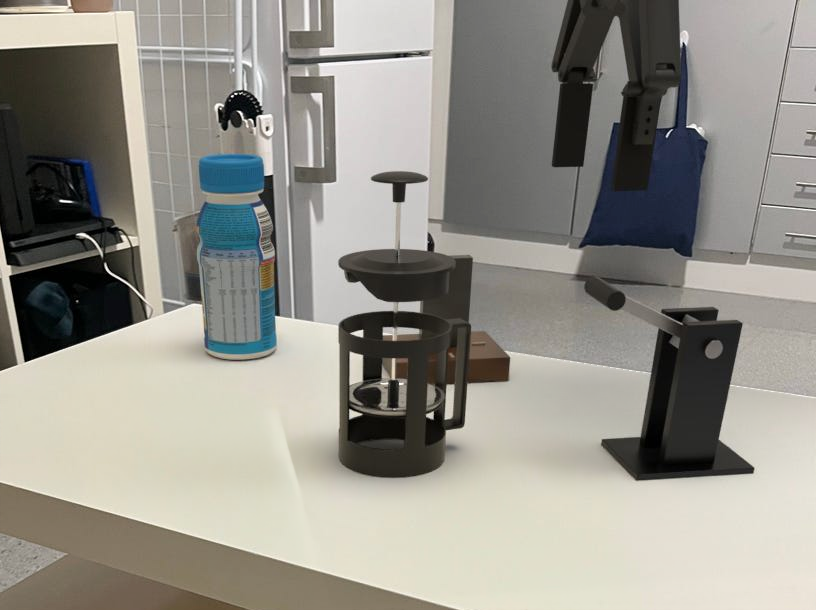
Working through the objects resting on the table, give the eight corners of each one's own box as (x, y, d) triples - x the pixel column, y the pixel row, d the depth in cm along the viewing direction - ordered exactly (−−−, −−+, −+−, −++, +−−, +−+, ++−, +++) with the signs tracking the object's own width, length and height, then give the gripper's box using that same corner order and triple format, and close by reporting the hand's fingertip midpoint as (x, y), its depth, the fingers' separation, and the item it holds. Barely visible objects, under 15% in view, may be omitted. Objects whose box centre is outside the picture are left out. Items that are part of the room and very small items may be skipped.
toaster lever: (600, 312, 75) (617, 281, 74) (577, 296, 79) (593, 266, 78) (716, 369, 79) (734, 340, 78) (688, 350, 83) (705, 323, 82)
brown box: (483, 353, 114) (485, 329, 113) (508, 380, 106) (510, 355, 104) (378, 357, 113) (379, 333, 111) (395, 386, 104) (396, 360, 103)
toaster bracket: (634, 492, 82) (661, 332, 75) (599, 455, 88) (620, 305, 82) (751, 484, 83) (788, 326, 76) (707, 448, 90) (737, 300, 83)
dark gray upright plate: (464, 342, 109) (469, 252, 104) (467, 346, 108) (473, 255, 103) (418, 344, 108) (422, 253, 103) (421, 348, 107) (425, 256, 102)
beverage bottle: (221, 366, 110) (208, 164, 100) (192, 346, 117) (177, 155, 106) (290, 354, 114) (285, 159, 103) (258, 336, 120) (250, 150, 109)
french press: (354, 498, 81) (356, 185, 69) (312, 457, 88) (308, 168, 76) (484, 476, 84) (508, 176, 72) (434, 438, 92) (448, 160, 80)
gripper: (531, -124, 83) (507, 159, 95) (662, -166, 63) (611, 203, 74) (617, -122, 85) (584, 157, 96) (774, -163, 64) (707, 200, 75)
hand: (596, 178), depth 85 cm, fingers open, 13 cm apart
